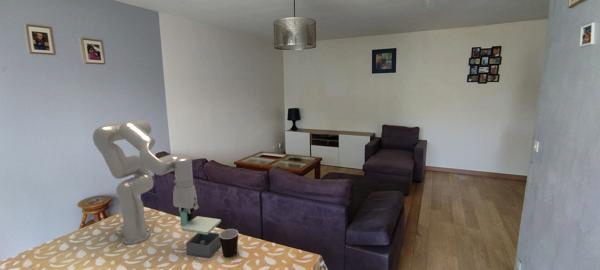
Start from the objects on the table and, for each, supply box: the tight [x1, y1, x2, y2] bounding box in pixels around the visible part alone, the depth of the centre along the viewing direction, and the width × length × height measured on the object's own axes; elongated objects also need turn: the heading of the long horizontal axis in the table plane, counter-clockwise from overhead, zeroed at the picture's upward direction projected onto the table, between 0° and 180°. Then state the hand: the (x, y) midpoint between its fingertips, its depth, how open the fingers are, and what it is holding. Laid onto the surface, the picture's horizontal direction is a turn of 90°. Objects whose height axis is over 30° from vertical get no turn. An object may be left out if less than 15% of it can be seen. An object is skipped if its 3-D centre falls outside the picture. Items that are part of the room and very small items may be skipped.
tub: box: [185, 231, 222, 259], centre depth 132 cm, size 12×11×6 cm
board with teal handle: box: [179, 208, 222, 235], centre depth 130 cm, size 16×12×7 cm
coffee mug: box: [219, 228, 239, 259], centre depth 130 cm, size 12×9×10 cm
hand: (186, 219), depth 132 cm, fingers closed on board with teal handle, 3 cm apart
